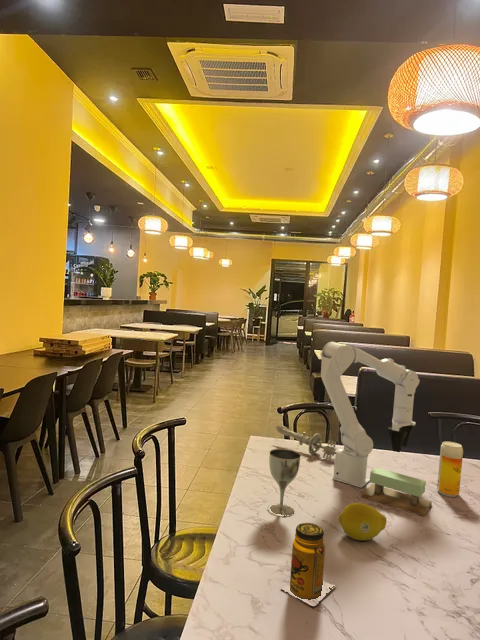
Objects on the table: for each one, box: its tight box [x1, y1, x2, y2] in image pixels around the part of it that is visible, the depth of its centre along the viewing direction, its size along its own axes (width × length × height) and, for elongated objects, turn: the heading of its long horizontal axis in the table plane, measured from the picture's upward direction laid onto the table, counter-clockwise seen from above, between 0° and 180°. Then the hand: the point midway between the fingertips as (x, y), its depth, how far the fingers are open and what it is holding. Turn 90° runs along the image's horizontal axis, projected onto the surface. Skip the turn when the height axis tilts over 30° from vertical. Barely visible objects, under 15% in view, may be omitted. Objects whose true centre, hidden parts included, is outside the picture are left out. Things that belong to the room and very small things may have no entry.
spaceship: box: [275, 425, 338, 462], centre depth 161 cm, size 8×35×8 cm
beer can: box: [436, 440, 464, 498], centre depth 133 cm, size 6×6×15 cm
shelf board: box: [369, 467, 427, 498], centre depth 126 cm, size 14×5×3 cm, turn 55°
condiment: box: [284, 522, 337, 600], centre depth 84 cm, size 7×8×12 cm
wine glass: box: [268, 448, 301, 517], centre depth 115 cm, size 8×8×15 cm
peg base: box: [360, 483, 433, 517], centre depth 126 cm, size 17×9×4 cm, turn 55°
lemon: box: [337, 502, 387, 542], centre depth 104 cm, size 11×8×8 cm
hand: (399, 448), depth 142 cm, fingers open, 7 cm apart
